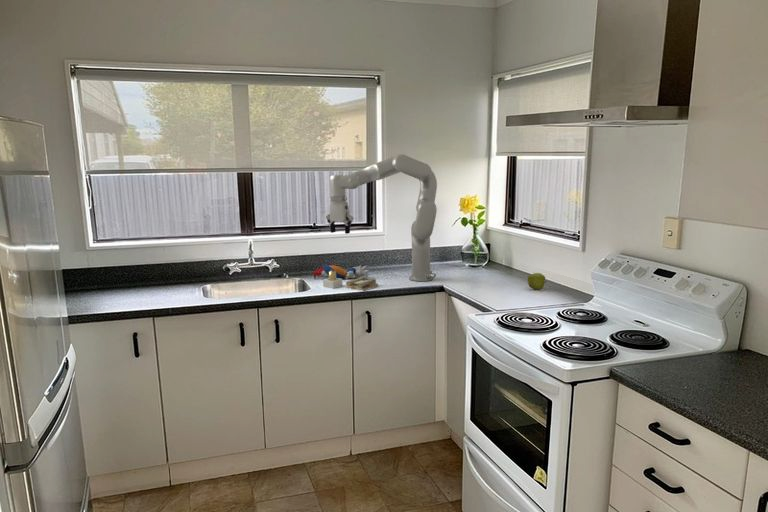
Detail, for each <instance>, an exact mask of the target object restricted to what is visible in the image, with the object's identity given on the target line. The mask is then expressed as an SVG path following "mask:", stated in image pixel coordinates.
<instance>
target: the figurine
mask: <svg viewBox="0 0 768 512" xmlns="http://www.w3.org/2000/svg"><path fill="white" fill-rule="evenodd" d="M367 266H368V264H367V265H365V266H364V265H363V266H362V265H359V266H358V265H357V266H354V267H350V268H348V269H347V270H346V269H343V268H342V267H340V266H337V265H335V264H331V265H329V264H322V266H321V267H322V268H317V269H316V270H314V271H313V278H314V280H315V279H316V277H320V276H322V277H323V276H325V277H328V278H329V271H331V270H334V271H336V278H339V279H344V278H345V280H348V279H349V278H354V277H357V278H361V277H364V278H365V279H366V280H367V279H368V277H369V274H368V273H369V272H370V269H366V268H367Z"/></svg>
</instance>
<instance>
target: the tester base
mask: <svg viewBox="0 0 768 512" xmlns="http://www.w3.org/2000/svg"><path fill="white" fill-rule="evenodd" d="M361 280H362V281H364V282H361V283H358V284H354V282H357V281H361ZM345 284H346V285H345V286H346V289H350V288H351V289H352V290H356V289H358V290H357V291H361V290H364V291H366V289H367V290H370V289H373V288H376V286H377V287H379V283H377V280H376V279H375V278H371V279H368V280H367V279H366V280H365V278H364V277H361V278H358V277H357V278H354V279H351V280H350V279H349V280H347V281H346V282H345ZM369 288H370V289H369Z"/></svg>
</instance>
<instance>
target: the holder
mask: <svg viewBox="0 0 768 512" xmlns="http://www.w3.org/2000/svg"><path fill="white" fill-rule="evenodd" d="M322 286H323V288H330V289H336V287H337V288H339V286H340V287H342V286H343V278H336V280H335V281H330V280H329V277H328V278H325V279H322Z"/></svg>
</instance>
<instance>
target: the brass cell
mask: <svg viewBox="0 0 768 512" xmlns="http://www.w3.org/2000/svg"><path fill="white" fill-rule="evenodd" d="M328 278H329V280H330V281H335V280H336V271H334V270H331V271H329V277H328Z"/></svg>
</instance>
